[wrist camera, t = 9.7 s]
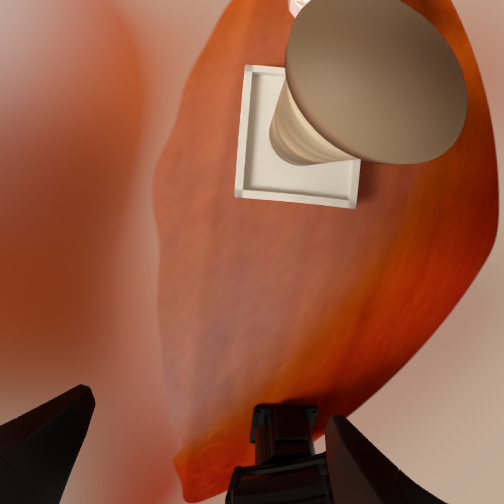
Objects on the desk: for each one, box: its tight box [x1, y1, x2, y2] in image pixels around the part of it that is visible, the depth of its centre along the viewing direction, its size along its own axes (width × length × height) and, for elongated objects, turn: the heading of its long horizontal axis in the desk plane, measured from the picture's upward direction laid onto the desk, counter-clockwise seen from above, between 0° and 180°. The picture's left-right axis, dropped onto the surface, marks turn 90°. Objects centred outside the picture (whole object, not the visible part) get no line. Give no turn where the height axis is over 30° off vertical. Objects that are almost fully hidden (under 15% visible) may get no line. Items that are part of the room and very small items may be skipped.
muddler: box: [269, 0, 467, 166], centre depth 11 cm, size 5×5×13 cm
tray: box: [234, 65, 361, 209], centre depth 17 cm, size 9×8×2 cm
